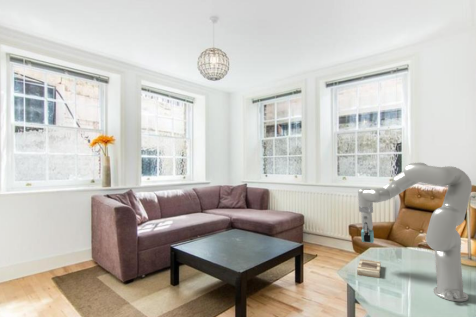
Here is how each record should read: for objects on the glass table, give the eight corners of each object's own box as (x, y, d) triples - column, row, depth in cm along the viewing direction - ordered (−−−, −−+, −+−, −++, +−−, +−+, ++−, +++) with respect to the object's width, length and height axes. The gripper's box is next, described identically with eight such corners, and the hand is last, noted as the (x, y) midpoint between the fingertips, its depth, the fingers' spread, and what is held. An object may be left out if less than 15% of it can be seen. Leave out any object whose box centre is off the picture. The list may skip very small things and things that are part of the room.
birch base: (379, 278, 143) (378, 272, 143) (357, 274, 148) (357, 268, 149) (380, 266, 158) (380, 261, 158) (360, 263, 164) (360, 258, 164)
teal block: (373, 243, 150) (372, 232, 150) (361, 241, 153) (361, 231, 153) (373, 240, 155) (373, 230, 155) (362, 239, 158) (362, 229, 158)
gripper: (371, 212, 145) (373, 245, 145) (374, 207, 160) (375, 237, 159) (357, 211, 149) (359, 243, 149) (360, 207, 164) (362, 235, 163)
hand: (367, 239), depth 154 cm, fingers closed on teal block, 6 cm apart
